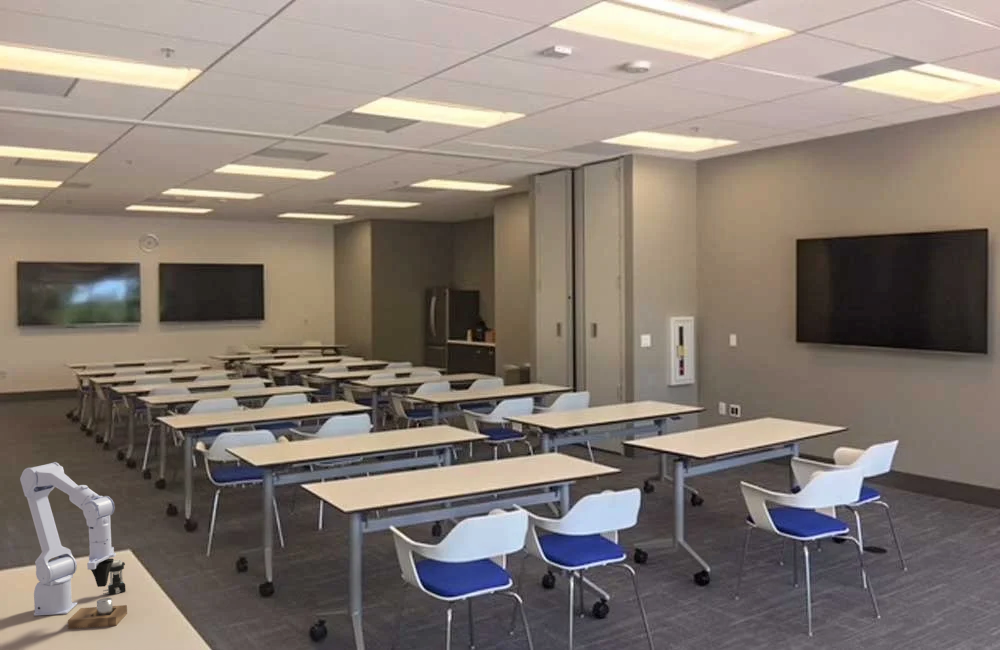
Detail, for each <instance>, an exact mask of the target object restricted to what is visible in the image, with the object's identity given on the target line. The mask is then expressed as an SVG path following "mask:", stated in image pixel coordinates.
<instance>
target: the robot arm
mask: <svg viewBox="0 0 1000 650" xmlns="http://www.w3.org/2000/svg"><path fill="white" fill-rule="evenodd" d="M19 480H20V484H21V487H22V491H23V494H24V495H23V496H24V497H25V498H26V500H27V502H28V503H27V504H28V507H29V510H30V513H31V517H32V520H33V524H34V528H35V532H36V535H37V539H38V542H39V545H40V549H41V553H40V555H39V556H38V557H37V558H36V560H35V562H34V564H35V576H36V579H37V580H38V581H39V582H37V583H36V585H35V587H34V592H33V600H34V603H33V604H34V605H33V606H34V613H33V616H34V617H35V616H37V617H38V616H48V615H49V616H51V615H66V614H68V613H69V612H70V611H71V610H73V609H74V608H75V607H76V606H77V605H78V602H73V600H72V598H73V597H72V596H73V595H72V578H74V574H75V573H76V571H77V568H78V564H77V560H76V558H75V557H74V556H73V554H72V550H71V549H70V548H68V547H65V546H63V545H62V542H61V539H60V536H59V535H60V534H59V532H58V529H57V526H56V522H55V518H54V513H53V512H52V508H51V503H50V501H49V500H50V499H49V495H50V493H51V492H52V491H53V490H54V489H55V488H57V489H58V490H60V491H61V492H63V493H65V494H67V495H68V497H69V502H71V503H72V504H73V505H75V506H76V507H78V508H79V509H80V510H82V514H83V516H84V518H85V522H86V526H87V527H88V540H89V547H88V548H89V556H88V561H87V570H88V571H89V570H90V571H91V573H92V574H93V576H94V579H95V583H96V586H97V588H99V587H100V588H101V587H106V586H108V581H109V577H110V572H109V571H110V568H111V565H112V563H113V561H114V560H115V559H114V558H115V557H116V556H117V553H116V552H115V548H114V546H112V530H111V525H112V524H111V516H112V515H113V514H114V513H115V509H116V507H115V502H114V501H113V498H111V497H110V496H108V495H104V496H103V495H99V494H98V493H96V492H95V491H94V490H92V489H90V488H89V486H88V485H86V484H80V485H78V484H77V483H76V482H75V481H73V480H72V479H71V478H70V476H68V475H67V474H65V470H64V467H63V466H62V465H60V463H58V462H57V461H54V462H50V463H46V464H42V465H38V466H32V467H26V468H25V469H24V470H23V471H22V473H21V475H20V477H19ZM54 558H55V559H54Z"/></svg>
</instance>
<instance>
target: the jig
mask: <svg viewBox="0 0 1000 650" xmlns="http://www.w3.org/2000/svg"><path fill="white" fill-rule="evenodd" d="M112 609H113V612H112V614H111V615H106V616H97V606H96V607H95V606H94V607H80V608H79V609H78V610H77V611H76V612H75V613H74V614H73V615H72V616H71V617H70V618H69V619H67V627H68V628H67V629H68V630H70V629H74V630H75V629H86V628H88V629H89V628H100V627H101V628H102V627H114V626H115V627H116V626H117V625H118V624H119V623H120V622H121V621H122V620H123V619H124V618H125V616H127V614H128V606H127V605H126V604H125V605H112Z"/></svg>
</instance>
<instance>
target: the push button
mask: <svg viewBox="0 0 1000 650" xmlns="http://www.w3.org/2000/svg"><path fill="white" fill-rule="evenodd" d="M125 565H126V563H125V562H124V561H122V560H121V559H114V561H113V563H112V565H111V568H110V571H109V585H108V584H107V589H105V590H104V589H103V590H102V592H104V593H102V594H103V595H106V594H108V595H110V596H111V595H117V594H120V593H121V594H122V593H125V592H126V591H127V590H126V584H125V582H124V580H123V570H124V569H125Z"/></svg>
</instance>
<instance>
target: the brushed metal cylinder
mask: <svg viewBox="0 0 1000 650" xmlns="http://www.w3.org/2000/svg"><path fill="white" fill-rule="evenodd" d="M112 606H113V598H111V597H103V598H99V599H97V601H96V607H97V616H106V615H111V614H112V612H113V609H112Z"/></svg>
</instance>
